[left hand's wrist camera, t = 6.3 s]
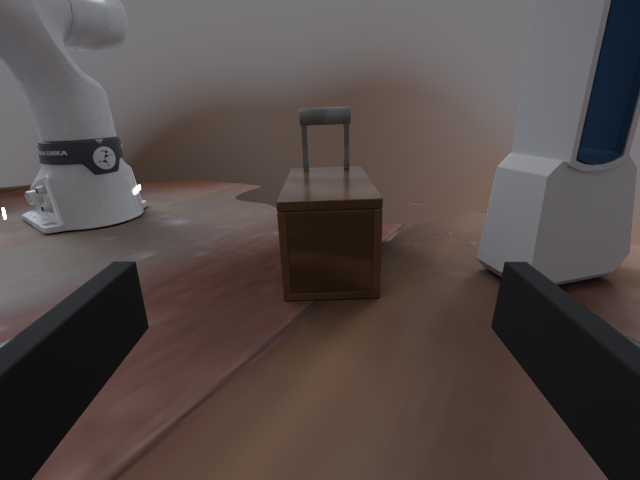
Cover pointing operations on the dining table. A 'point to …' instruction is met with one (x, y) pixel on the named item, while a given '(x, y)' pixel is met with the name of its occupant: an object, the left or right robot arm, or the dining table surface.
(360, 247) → the chest
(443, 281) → the dining table surface
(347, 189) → the lid
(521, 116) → the electronic device
